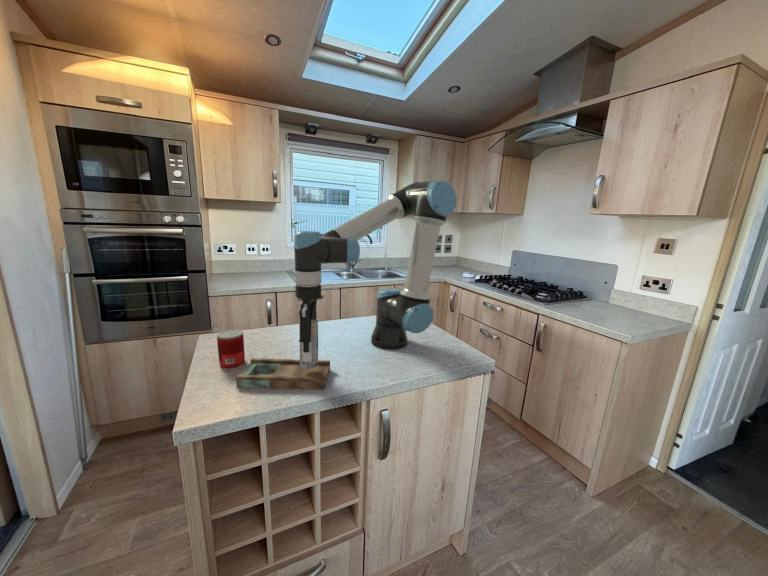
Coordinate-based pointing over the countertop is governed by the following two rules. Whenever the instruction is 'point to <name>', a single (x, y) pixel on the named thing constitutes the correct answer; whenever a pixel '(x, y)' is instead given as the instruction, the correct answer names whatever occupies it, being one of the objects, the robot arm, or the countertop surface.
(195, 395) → the countertop surface
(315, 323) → the beverage can
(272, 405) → the countertop surface
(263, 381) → the rail board
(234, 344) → the canned food
